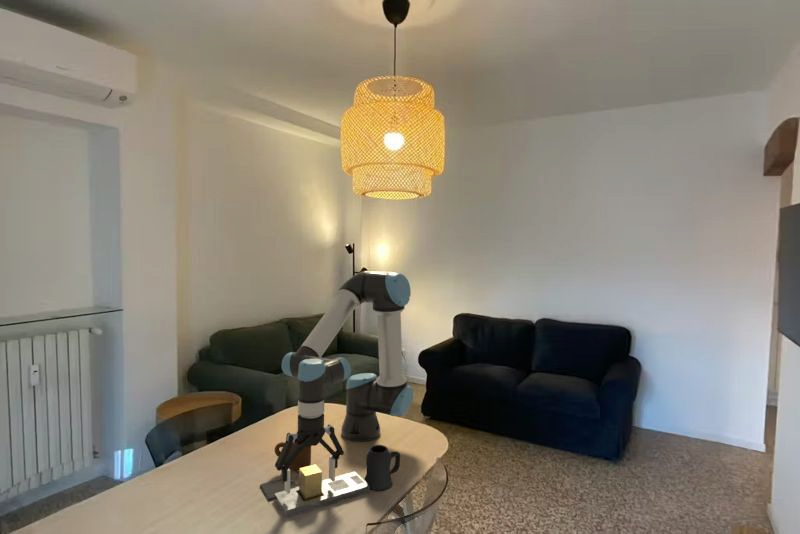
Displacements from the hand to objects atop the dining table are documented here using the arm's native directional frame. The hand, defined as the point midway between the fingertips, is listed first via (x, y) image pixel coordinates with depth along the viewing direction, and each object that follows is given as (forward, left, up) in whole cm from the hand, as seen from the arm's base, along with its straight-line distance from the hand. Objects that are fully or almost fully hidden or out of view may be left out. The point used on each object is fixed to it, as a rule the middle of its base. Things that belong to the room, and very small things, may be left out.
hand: (310, 485), depth 136 cm
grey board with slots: (-4, 0, -4) cm, 6 cm away
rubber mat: (+6, -10, -4) cm, 12 cm away
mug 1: (-2, -21, -5) cm, 22 cm away
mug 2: (-23, +2, -5) cm, 24 cm away
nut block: (0, 0, -5) cm, 5 cm away
